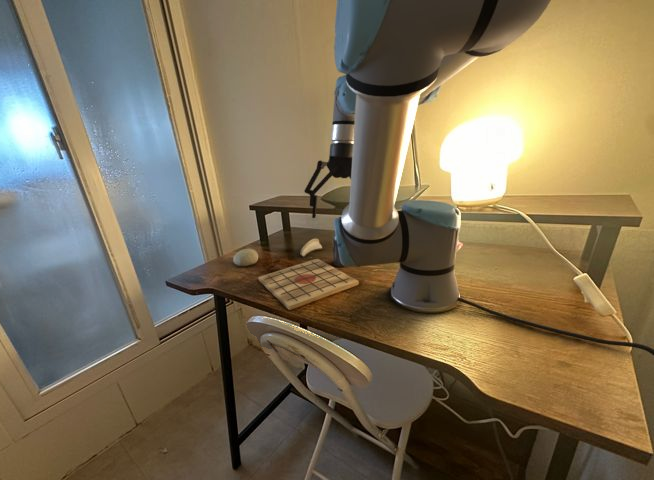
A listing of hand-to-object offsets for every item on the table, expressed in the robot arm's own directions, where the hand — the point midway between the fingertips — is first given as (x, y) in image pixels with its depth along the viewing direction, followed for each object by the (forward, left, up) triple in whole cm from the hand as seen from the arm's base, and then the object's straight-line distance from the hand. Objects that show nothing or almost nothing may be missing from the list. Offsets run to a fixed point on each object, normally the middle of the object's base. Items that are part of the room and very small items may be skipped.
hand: (336, 219), depth 92 cm
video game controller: (-18, -26, -15) cm, 35 cm away
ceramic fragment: (+18, 0, -15) cm, 24 cm away
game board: (-4, +15, -15) cm, 22 cm away
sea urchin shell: (+24, +24, -15) cm, 37 cm away
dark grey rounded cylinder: (0, -1, -15) cm, 15 cm away
